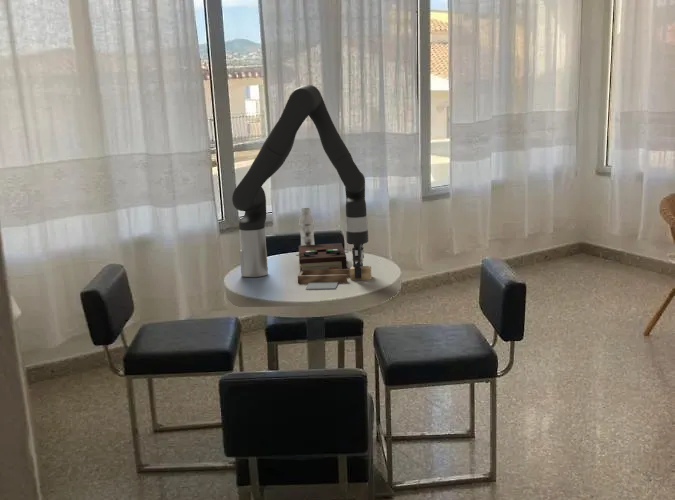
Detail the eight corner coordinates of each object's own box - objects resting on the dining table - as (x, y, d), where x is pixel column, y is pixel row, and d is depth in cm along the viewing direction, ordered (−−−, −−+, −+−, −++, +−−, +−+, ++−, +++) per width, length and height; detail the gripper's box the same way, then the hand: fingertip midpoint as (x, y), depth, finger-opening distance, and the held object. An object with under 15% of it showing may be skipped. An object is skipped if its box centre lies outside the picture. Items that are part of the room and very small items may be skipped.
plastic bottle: (318, 256, 287) (315, 207, 283) (314, 260, 280) (311, 209, 276) (303, 256, 288) (300, 207, 284) (298, 260, 282) (295, 210, 278)
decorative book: (343, 239, 281) (350, 255, 252) (344, 258, 283) (351, 275, 253) (295, 242, 280) (295, 258, 251) (296, 261, 282) (297, 279, 252)
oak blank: (350, 280, 246) (350, 269, 245) (351, 277, 250) (351, 266, 249) (370, 279, 245) (370, 268, 245) (371, 277, 249) (371, 265, 248)
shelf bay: (298, 283, 245) (297, 276, 244) (301, 276, 254) (301, 270, 253) (347, 282, 243) (346, 275, 243) (349, 275, 252) (349, 268, 251)
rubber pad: (305, 289, 236) (305, 288, 236) (309, 283, 244) (309, 282, 243) (335, 289, 235) (335, 287, 235) (338, 283, 242) (338, 281, 242)
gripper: (366, 232, 236) (368, 280, 239) (369, 225, 250) (371, 270, 253) (344, 233, 237) (346, 280, 240) (347, 226, 251) (350, 271, 254)
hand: (359, 275), depth 247 cm, fingers open, 7 cm apart
